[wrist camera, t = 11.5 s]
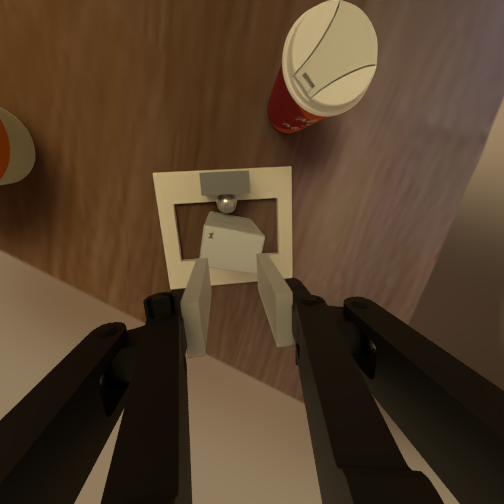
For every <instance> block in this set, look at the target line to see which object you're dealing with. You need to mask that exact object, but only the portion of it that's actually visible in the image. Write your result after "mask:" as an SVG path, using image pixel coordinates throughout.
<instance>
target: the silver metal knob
mask: <svg viewBox="0 0 504 504" xmlns="http://www.w3.org/2000/svg"><path fill="white" fill-rule="evenodd" d="M216 205H217V208H218V209H219V210H220V211H221V212H223V213H231V212H233V211H234V210H235V209H236V206H237V199H236V197H235V196H234V195H233V194H224V195H219V196H218V197H217V200H216Z"/></svg>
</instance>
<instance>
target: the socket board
mask: <svg viewBox="0 0 504 504" xmlns="http://www.w3.org/2000/svg"><path fill="white" fill-rule="evenodd" d="M153 179H154V186H155V192H156V199H157V205H158V212H159V218H160V225H161V231H162V238H163V244H164V251H165V257H166V264H167V270H168V277H169V283H170V289H179V288H186V286H187V283H188V281H189V278H190V275H191V272H192V270H193V267H194V264H195V262H196V259H185V260H182V255H181V247H180V240H179V233H178V225H177V218H176V210H175V204H182V203H199V202H215V201H216V200H217V197H218V196H219V195H224V194H233V195H234V196H235V197H236V199H237V200H249V199H266V198H276V218H277V252H271V253H267V254H268V255H269V257H270V258H271V260H272V261H273V263H274V265H275V266H276V268H277V269H278V271H279V272H280V274H281V275H282V277H283V278H284V279H286V278H292V166H288V167H266V168H245V169H224V170H203V171H182V172H161V173H153ZM209 273H210V282H211V286H212V285H223V284H234V283H245V282H255V281H258V280H257V274H252V273H245V272H238V271H230V270H222V269H216V268H209Z"/></svg>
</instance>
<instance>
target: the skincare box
mask: <svg viewBox="0 0 504 504" xmlns="http://www.w3.org/2000/svg"><path fill="white" fill-rule="evenodd" d="M264 241H265V236H264V234H263V233H262V232H261V231H260V230H259V228H258V227H257V226H256V225H255V224H254V222H253V221H252V220H251V219H250V218H245V217H239V216H234V215H229V214H224V213H218V212H213V211H210V212H209V214H208V217H207V219H206V222H205V224H204V227H203V235H202V242H201V249H200V257H199V258H208V263H209V268H216V269H222V270H230V271H238V272H245V273H252V274H257V259H256V254H259V253H262V250H263V246H264Z"/></svg>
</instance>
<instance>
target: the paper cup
mask: <svg viewBox="0 0 504 504" xmlns="http://www.w3.org/2000/svg"><path fill="white" fill-rule="evenodd" d="M377 55H378V43H377V36H376V33H375V30H374V28H373V25H372V23H371V22H370V20H369V19H368V17H367V15H366V14H365V13H364V12H363V11H362V10H361V9H360V8H358V7H357V6H355V5H353V4H351V3H348V2H345V1H342V0H329V1H326V2H323V3H321V4H319V5H317V6H315V7H313V8H311V9H309V10H308V11H306V12H305V13H304V14H303V15H301V16H300V17H299V18H298V20H297V21H296V22H295V23H294V25H293V26H292V28H291V30H290V31H289V34H288V36H287V38H286V41H285V45H284V49H283V55H282V64H281V67H280V70H279V73H278V76H277V78H276V81H275V84H274V87H273V90H272V93H271V96H270V99H269V103H268V116H269V119H270V122H271V123H272V125H273V126H274V127H275V128H276V129H277V130H278V131H280V132H283V133H294V132H297V131H299V130H302V129H304V128H306V127H308V126H310V125H312V124H314V123H316V122H318V121H320V120H322V119H324V118H326V117H329V116H336V115H339V114H342V113H344V112H346V111H348V110H349V109H351V108H352V107H353V106H355V105H356V104H357V103H358V102H359V101H360V100H361V98H362V97H363V95H364V94H365V93H366V91H367V89H368V87H369V85H370V82H371V80H372V78H373V75H374V73H375V70H376V66H377V65H376V64H377Z"/></svg>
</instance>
